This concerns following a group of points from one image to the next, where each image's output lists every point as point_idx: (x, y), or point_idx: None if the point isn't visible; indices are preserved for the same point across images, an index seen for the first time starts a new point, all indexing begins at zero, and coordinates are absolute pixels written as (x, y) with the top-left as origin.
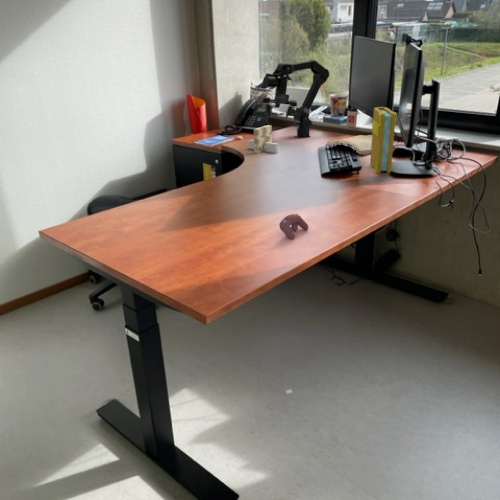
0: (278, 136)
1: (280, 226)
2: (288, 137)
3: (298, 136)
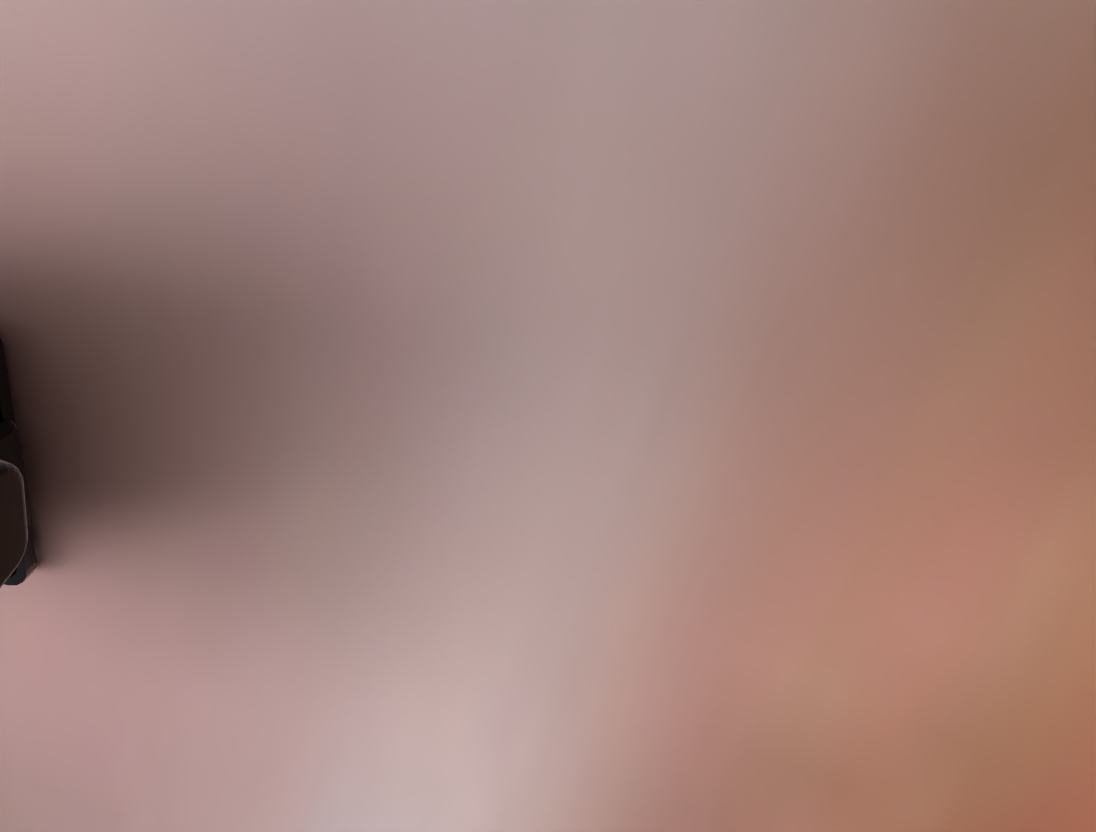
0: (475, 660)
1: None
2: (261, 480)
3: (3, 399)
